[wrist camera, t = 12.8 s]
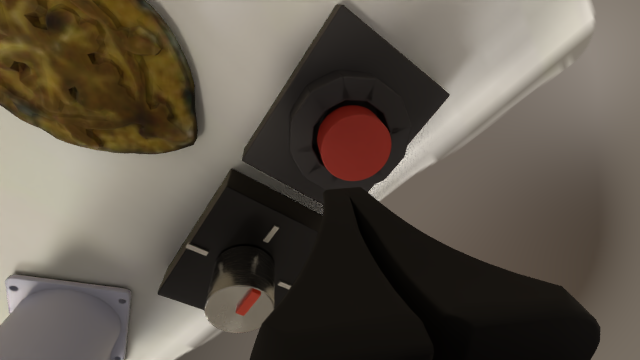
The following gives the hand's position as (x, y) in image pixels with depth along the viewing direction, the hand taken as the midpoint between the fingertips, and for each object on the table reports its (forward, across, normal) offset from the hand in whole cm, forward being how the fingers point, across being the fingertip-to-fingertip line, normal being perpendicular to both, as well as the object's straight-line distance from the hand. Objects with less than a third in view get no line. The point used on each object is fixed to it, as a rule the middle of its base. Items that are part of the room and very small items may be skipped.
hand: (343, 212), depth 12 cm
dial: (+8, +5, +9) cm, 13 cm away
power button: (+7, -2, 0) cm, 7 cm away
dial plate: (+10, +5, +9) cm, 15 cm away
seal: (+10, +12, -5) cm, 17 cm away
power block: (+10, -2, 0) cm, 10 cm away
